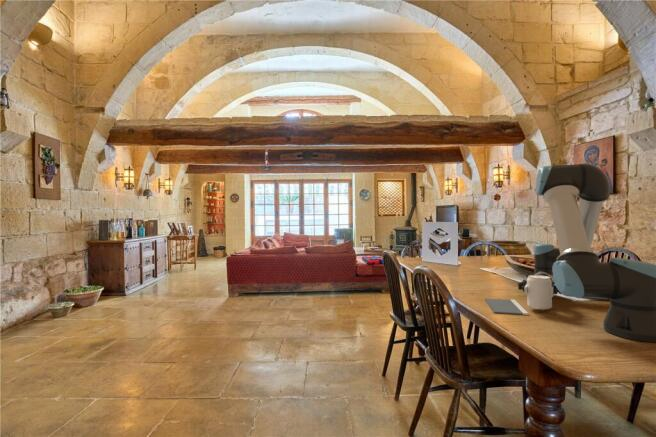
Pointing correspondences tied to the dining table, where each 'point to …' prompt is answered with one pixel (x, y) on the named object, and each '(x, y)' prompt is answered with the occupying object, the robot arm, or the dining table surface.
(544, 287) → the beverage can
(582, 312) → the dining table surface
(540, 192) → the robot arm
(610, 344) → the dining table surface
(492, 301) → the mat
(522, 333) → the dining table surface
